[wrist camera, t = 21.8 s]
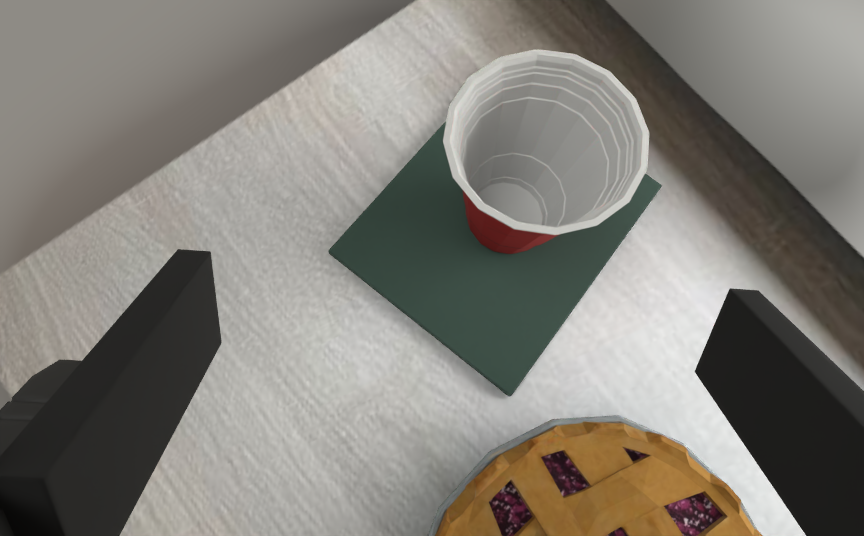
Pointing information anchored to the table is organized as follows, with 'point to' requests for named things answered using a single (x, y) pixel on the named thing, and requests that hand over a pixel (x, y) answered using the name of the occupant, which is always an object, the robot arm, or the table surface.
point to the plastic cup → (543, 148)
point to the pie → (592, 487)
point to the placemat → (475, 268)
